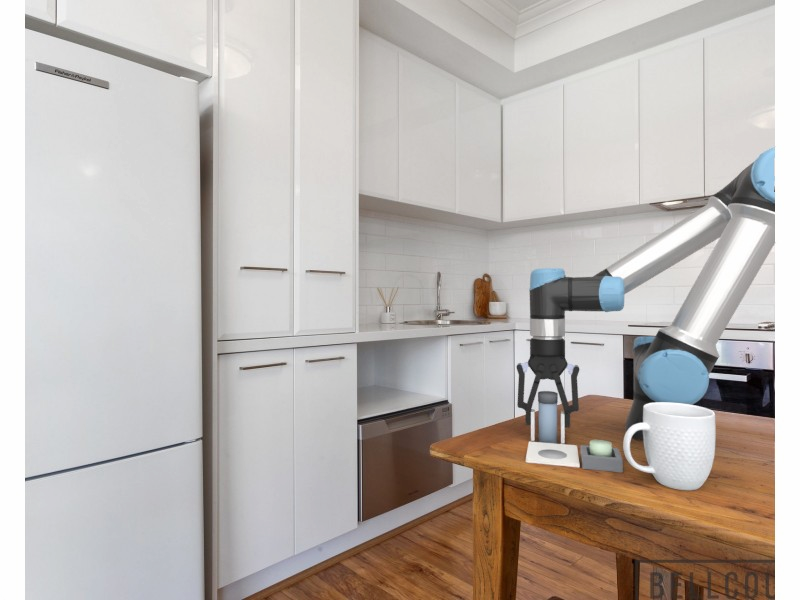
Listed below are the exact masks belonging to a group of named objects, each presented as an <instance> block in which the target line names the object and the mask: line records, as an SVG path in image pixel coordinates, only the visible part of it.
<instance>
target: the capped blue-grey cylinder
mask: <svg viewBox="0 0 800 600" xmlns="http://www.w3.org/2000/svg"><path fill="white" fill-rule="evenodd" d="M558 395H559V393H558V392H556V391H550V390H542V391H537V401H538V442H542V443H554V444H558V398H559V397H558Z"/></svg>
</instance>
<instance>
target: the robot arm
mask: <svg viewBox="0 0 800 600" xmlns="http://www.w3.org/2000/svg"><path fill="white" fill-rule="evenodd" d="M775 147H776V146H774V147H771V148H769V149H767V150H765V151H763V152H762V153H761V154H759V156H758V157H756V159H755V160H753V162H752V163H750V164H749V165H747V167H745V168H744V169H742V170H741V172H739V174H737V176H735V178H734V179H732V180H731V181H730V182H729V183H727V185H725V186H724V187H723V188H721V189H720V190H719V191H718V192H715V193H714V194H713V195H711V196H710V197H709V198H708V201H707V204H705V205H704V206H702V207H701V208H699V209H698V210H696V211H694V212H693V213H691V214H689V215H688V216H687V217H685V218H683V219H682V220H680V221H679V222H677V223H676V224H673V225H672V226H671V227H669V228H668V229H666V230H664V231H663V232H661V233H660V234H658V235H656V236H654V237H653V238H652V239H649V241H647V242H645V243H644V244H642V245H641V246H639V247H637V248H635V249H634V250H633V251H630V252H629V253H628V254H626V255H625V256H623V257H622V258H620V259H619V260H617V261H615V262H614V263H612V264H611V265H609V266H607V267H606V268H604V269H603V270H601V271H599V272H597V273H596V274H595V275H593V276H576V277H573V276H572V277H571V276H566V272H565V270H564V268H559V267H558V268H557V267H555V268H551V267H549V268H548V267H546V268H536V269H535V268H534V269H533V270H531V272H530V277H529V278H530V280H529V289H528V290H529V336H530V337H532V338H530V340H529V358H528V361H526V362H523V363H521V362H519V363H517V364H516V370H517V374H518V386H517V405H516V406H517V408H519V409H523V410H524V411H525V425H526V426H530V442H536V441H535V440H536V409H533V404H534V401H535V398H536V395H537V393H538V389H539V385H540V383H541V380H550V381H554V384H555V386H556V390H557V393H558V395H559V400H560V402H561V405H562V407H563V410H561V411H560V444H565V438H566V437H565V434H566V431H565V430H566V429H568V428H569V429H570V427H571V414H572V413H574V412H578V411H579V410H580V407H579V391H578V376H579V373H580V366H579V365H578V364H575V365H574V364H572V363H568V361H567V359H566V340H565V339H564V338H563V337H565V336H566V312H605V313H609V312H621V311H623V309H624V308H625V295H626V294H628V293H629V292H631V291H633V290H634V289H636V288H638V287H639V286H641V285H642V284H644V283H647V282H648V281H650V280H651V279H654V277H656V276H658V275H660V274H661V273H663V272H665V271H666V270H668V269H670V268H671V267H673V266H675V265H677V264H678V263H679V262H681V261H683V260H685V259H687V258H688V257H690V256H692V255H693V254H694V253H696V252H698V251H700V250H702V249H703V248H704V247H706V246H708V245H710V244H712V243H713V242H715V241H716V240H717V241H716V244H715V246H714V248H713V249H712V251H711V253H710V255H709V256H708V258H707V259H706V262H705V264H704V265H703V267H702V269H701V271H700V272H699V274H698V276H697V278H696V280H695V282H694V284H693V285H692V287H691V289H690V290H689V292H688V294H687V296H686V298H685V299H684V301H683V303H682V304H681V306H680V308H679V310H678V312H677V313H676V315H675V317H674V319H673V321H672V322H671V324H670V325H668V326H664V327H662V328H658V331H657V332H656V335H655V336H654V335H653V336H650V335H649V336H638V337H636V338H634V341H633V347H632V352H633V401H632V404H631V406H630V410H629V412H628V415H627V417H626V421H625V425H624V426H625V429H624V430H625V433H626V432H627V430H628V429H629V428H630V427H631V426H633V425H634V424H637V423H643V407H644V405H645V404H648V403H655V402H670V403H682V404H690V405H694V404H696V403H698V402H699V401H700V400H701V399H702V398H703V397H704V396H705V394H706V393H707V390H708V387H709V383H710V374H711V372H712V370H713V368H714V366H715V365H716V363H717V361H718V359H719V357H720V354H719V352H718V348H717V343H718V342H719V341H720V338H721V337H722V335H723V333H724V332H725V330H726V328H727V326H728V325H729V323H730V321H731V319H733V318H732V317H733V316H734V315H735V313H736V310H738V308H739V305H741V304H740V303H741V302H742V300H743V299H744V297H745V295H746V293H747V292H748V290H749V288H750V286H751V285H752V283H753V281H754V280H755V278H756V276H757V274H758V273H759V271H760V269H761V268H762V267H763V265H764V263H765V261H766V260H767V257H769V254H770V253H771V251H772V249H773V247H774V246H775V244H776V242H775V192H774V181H775V176H774V158H775ZM528 367H529V369H530V370H531V371H532V373H533V374H534V375H535V376H534V380H533V383H532V385H531V386H532V387H531V389H530V392H529V396H528V400H527V402H525V401H524V399H525V382H526V381H525V377H526V373H527V371H528ZM566 369H567V370H568V374H569V375H570V382H571V383H570V384H571V385H570V386H571V402H572V403H571V405H570V403H569V402H568V399H567V395H566V392H565V388H564V386H563V382H562V379H561V375H562V374H563V373H564V371H565V370H566ZM632 438H633V439H635V440H638V441H641V442H644V441H643V440H644V439H643V430H639V431H637V432H635V433H634V434H633V436H632ZM632 438H631V439H632Z"/></svg>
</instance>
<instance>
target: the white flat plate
mask: <svg viewBox="0 0 800 600" xmlns="http://www.w3.org/2000/svg"><path fill="white" fill-rule="evenodd" d="M526 450H527V451H526V456H525V463H529V464H539V465H550V466H561V467H570V468H571V467H572V468H580V466H581V465H580V459H579V452H578V451H579V450H578V445H577V444H576V445H575V444H562V443H557V444H554V443H542V442H539V441H531V440H529V441H528V445H527V449H526Z"/></svg>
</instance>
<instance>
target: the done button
mask: <svg viewBox="0 0 800 600" xmlns="http://www.w3.org/2000/svg"><path fill="white" fill-rule="evenodd" d="M589 446H590V455H594V456H605V457H612V448H613V444H612V442H610V441H608V440H603V439H592V440H590V441H589Z"/></svg>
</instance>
